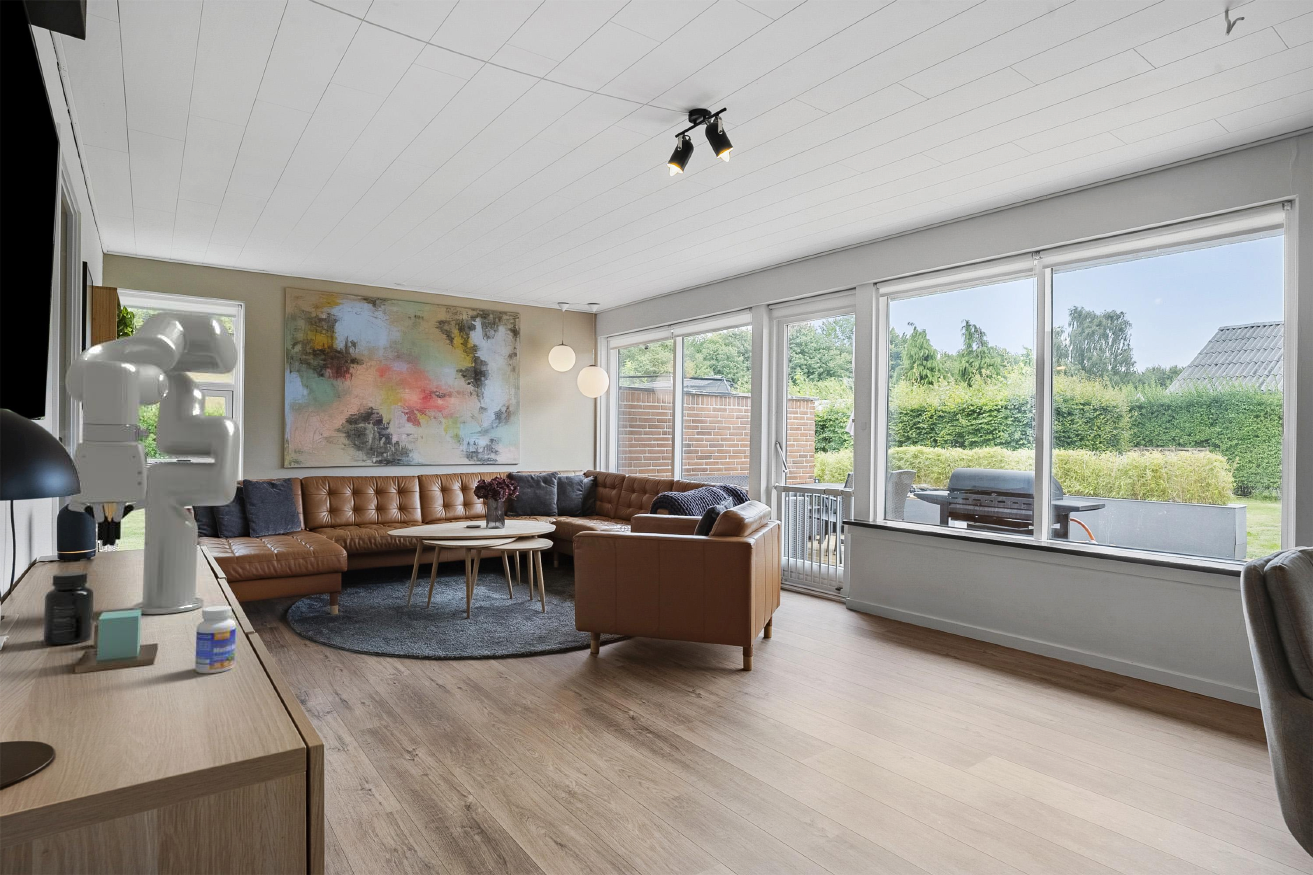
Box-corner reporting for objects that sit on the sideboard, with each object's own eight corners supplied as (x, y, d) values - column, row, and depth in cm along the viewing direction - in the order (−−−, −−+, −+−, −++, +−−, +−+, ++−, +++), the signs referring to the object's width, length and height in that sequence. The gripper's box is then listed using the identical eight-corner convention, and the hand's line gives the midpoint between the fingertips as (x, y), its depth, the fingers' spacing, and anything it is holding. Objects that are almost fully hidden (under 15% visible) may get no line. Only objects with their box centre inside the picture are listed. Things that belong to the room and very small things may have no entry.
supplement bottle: (102, 636, 131) (104, 571, 132) (68, 646, 125) (70, 577, 125) (68, 635, 132) (70, 569, 132) (32, 644, 125) (34, 576, 125)
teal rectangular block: (101, 652, 119) (102, 612, 119) (139, 648, 121) (141, 609, 121) (97, 660, 114) (98, 619, 114) (137, 656, 117) (138, 615, 117)
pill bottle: (215, 675, 111) (218, 612, 112) (186, 672, 112) (188, 610, 113) (242, 665, 117) (244, 605, 117) (214, 662, 118) (216, 603, 118)
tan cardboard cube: (96, 643, 127) (96, 621, 127) (117, 641, 128) (118, 619, 128) (93, 647, 124) (94, 624, 124) (115, 645, 126) (115, 622, 126)
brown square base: (85, 656, 119) (86, 614, 119) (157, 648, 125) (159, 608, 125) (75, 673, 111) (76, 627, 111) (153, 664, 116) (155, 621, 116)
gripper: (166, 435, 126) (164, 538, 127) (57, 433, 118) (55, 543, 119) (164, 437, 120) (162, 545, 121) (48, 435, 112) (46, 551, 113)
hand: (109, 544), depth 120 cm, fingers closed
